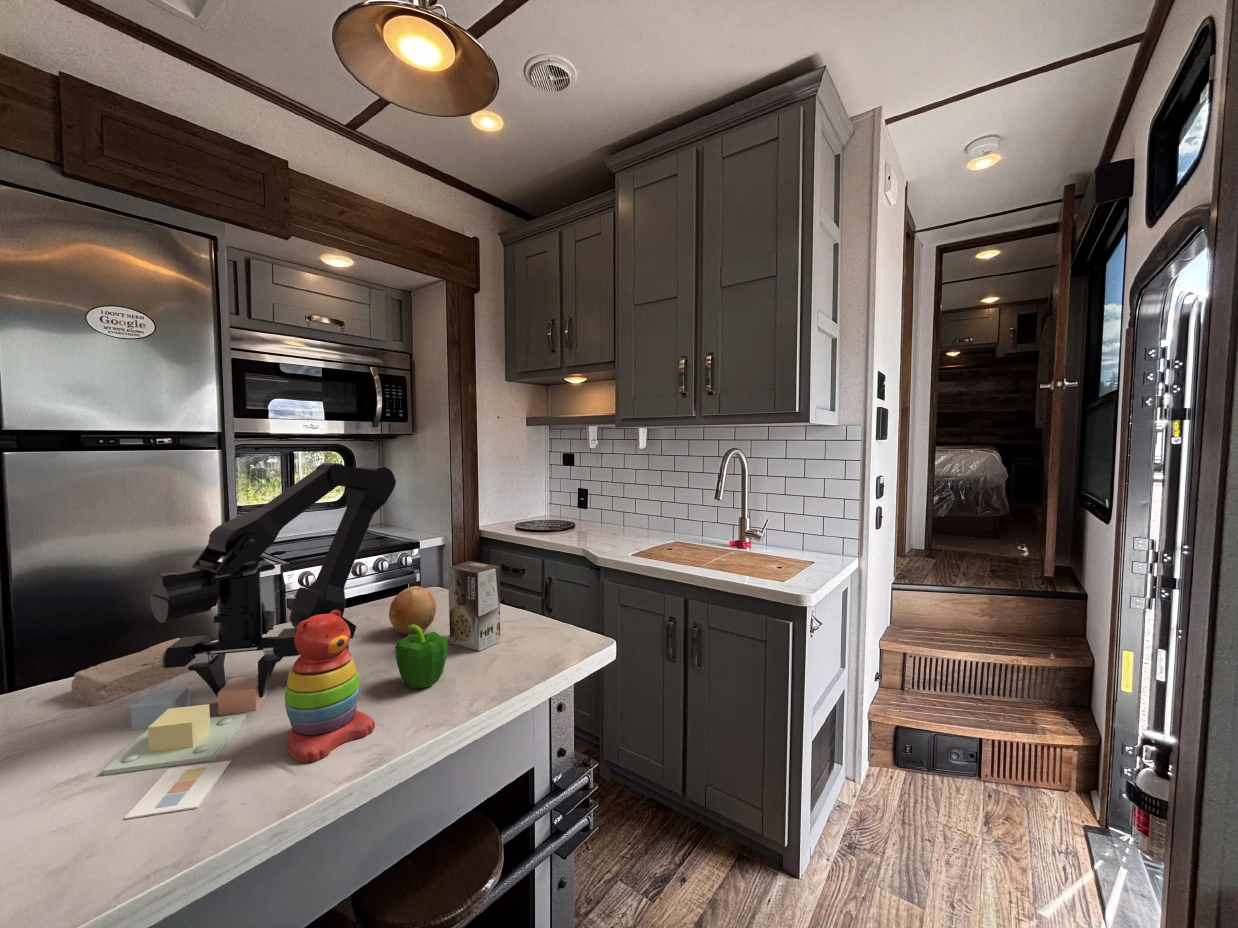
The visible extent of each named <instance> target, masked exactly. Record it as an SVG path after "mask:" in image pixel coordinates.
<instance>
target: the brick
mask: <svg viewBox="0 0 1238 928" xmlns="http://www.w3.org/2000/svg"><path fill="white" fill-rule="evenodd" d="M180 639H181V638H179V637H177V638H174V639H170V640H167V641H164V642H160V643H158V644H155V645H153V646H150V647H148V648H146V649H144V650H141V651H139V652H135V653H132V654H128V655H125V656H122V657H118V658H115V659H111V660H108V661H105V662H101V663H99V664H97V665H95V666H90V667H88V668H86V669H82V670H79V671H77V672H75V673H74V675H73V676H74V678H73V680H72V681H71V694H72V698H74V699H75V700H78V701H83V702H85V703H88V704H89V705H92V706H102V705H105V704H108V703H111V702H114V701H117V700H119V699H122V698H124V697H127V696H128V695H130V694H134V693H136V692H140V691H142V690H145V689H147V688H150V687H153V686H155V685H158V684H160V683H163V682H166V681H167V680H170V679H174V678H176V677H179V676H181V675H183V674H186V673H189V672H190V671H189V670H188V667H189V666H190V665H191V662H190V663H189V664H188V665H186V666H183V667H173V668H164V667H163V659H162V656H163V654H164V651H165V650H166V649H167V648H168V647H170V646H171V645H173V644H174V643H175V642H177V641H178V640H180Z"/></svg>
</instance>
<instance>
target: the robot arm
mask: <svg viewBox="0 0 1238 928" xmlns="http://www.w3.org/2000/svg"><path fill="white" fill-rule="evenodd" d="M396 484H397V479H396V477H395V475H394V473H393V471H392V470H391V469H389V468H388V467H384V466H373V465H360V466H358V467H356V466H355V467H354V466H348V465H343V464H342V463H334V462H323V463H321V464H319V465H317V467H316V468H315V469H314V470H313V471H311V472H310V473H308V474H307V475H305V476H304V477H303V478H302V479H300V480H298V481H297V482H296V483H294V484H293V485H291V486H290V487H289V488H287V489H286V490H284V491H283V492H281V493H280V494H278V495H277V496H276V497H274V498H273V499H271V500H270V501H268V502H267V503H265V504H264V505H263V506H261V507H260V508H257V509H255V510H253V511H250V512H247V513H244V514H242V515H238V516H236V517H234V518H232V519H230V520H228V521H226V522H224V523H222V524H219V525H218V526H216V527H215V528H214V529H213V530H212V531H211V532H210V534H209V536H208V537H209V539H208V542H207V545H206V546H205V547H204V549H203V550H202V552H201V553H200V554H199V556H198V557H197V558H196V559H195V561H194V563H193V564H192V565H191V568H190V569H187V570H182V571H176V572H162V573H158V574H156V583H155V584H154V585H153V587H152V593H151V594H150V596H149V597H150V600H149V601H150V607H151V611H152V614H153V616H154V617H155V619H156V621H157V622H159V623H167V622H170V621H175V620H179V619H183V618H187V617H191V616H194V615H199V614H202V613H206V612H209V611H211V610H212V608H213V607H216V613H217V614H215V615H214V616H213V624H215V623H217V637H218V638H217V640H216V641H211V638H210V637H209V635H207V634H206V635H194V636H184V637H183V636H182V637H181V638H180V640H178V641H177V642H175V643H174V644H173V645H171V646H170V647H168V648H167V649H166V650H165V651H164V654H163V656H162V659H163V667H164V668H173V667H183V666H186V665H188V664H189V663H190V662H191V665H190V666H189V667H188V670H189V672H195V673H196V674H197V675H198V676H199V677H200V678H201V679H202V680H203V681H204V682H205V683H206V684H207V686H208V687H209V688H210V690H211V691H212V692H213V694H214V696H216V698H217V699H218V692H219V691H220V690H221V689H222V688H223V687H224V685H225V684H226V683H227V679H226V672H225V662H226V661H225V659H226V656H227V655H226V654H233V653H235V654H236V653H244V652H256V651H262V653H263V656H262V657H261V658H260V659H258V661H257V676H258V691H259V696H260V698H261V697H263V696H264V695H265V693H266V694H267V689H268V686H269V684H270V681H271V677H272V675H273V671H274V669H275V668H276V664H277V663H279V662H281V661H282V659H283V658H289V657H297V656H298V657H299V656H300V654H299V653H298V651H297V649H296V647H295V642H294V638H295V633H296V631H297V625H298V624H299V623H300V622H302V621H305V620H306V619H308V618H310V617H312V616H315V615H320V614H329V613H330V612H331V611H333V610H339V611H340V612H341V618H342V619H343V620H344V621H345V622H346V623H347V625H348V627H349V629H350V633H351V636H350V639H353V638H354V637H355V634H356V630H357V626H356V624H354V623H353V622H351V621H350V620H348V619H347V618H345V617H344V613H345V609H346V606H347V605H346V603H347V602H346V592H345V587H346V585H347V584H346V583H347V582H348V579H349V575H350V574H351V571H352V569H353V566H354V563H355V562H356V559H357V557H358V554H359V551H360V549H361V547H362V544H363V541H364V539H365V537H366V534H367V532H368V528H369V527H370V524H371V522H372V519H373V517H374V515H375V514H376V513H377V511H378V510H380V509H381V508H382V507H383V506H384V505H385V504H386V503H387V502H388V501H389V498H390V497H391V495H392V494H393V492H394V490H395V488H396ZM337 487H344V488H345V498H346V508H345V510H344V513H343V515H342V518H341V520H340V522H339V525H338V527H337V530H336V532H335V534H334V537H333V539H332V541H331V543H330V546H329V549H328V551H327V553H326V556H325V557H324V561H323V563H322V565H321V567H320V570H319V572H318V574H317V576H316V579H315V580H314V582H312V583H311V584H310V585H309V586H308V587H307V588H306V587H302V586H300V587H299V588H298V589H297V591H296V594H295V597H294V600H293V602H292V604H291V605H290V606H289V607H288V610H289V611H290V613H289V614H290V615H289V621H290V623H291V625H292V627H291V628H283V630H281V632H280V633H278V635H277V636H266V637H263V635H267V634H268V633H269V631H273V630H274V624H275V614H276V613H275V610H266V609H265V608H266V607H265V604H264V603H265V602H264V601H262V590H261V589H262V587H261V585H262V584H261V573H263V572H269V571H272V570H275V569H276V565H275V564H272V563H271V562H269V561H267V559H265V557H264V556H262V555H263V554H264V553H265V552H266V551H267V550H268V549H269V548H270V547H271V545H273V544H274V542H275V541H276V539H277V538H278V535H279V533H280V532H281V531H282V530H283V528H284V527H285V526H287V525H289V523H290V522H292V521H294V519H296V518H298V517H299V516H300V515H301V514H303V513H304V512H305V511H306V510H308V509H310V507H312V506H313V505H314V504H316V503H317V502H319V501H320V500H321V499H322V498H324V497H325V496H326V495H328V494H329V493H330V492H332V491H333V490H334V489H335V488H337ZM221 559H223V560H222V561H219V560H221ZM349 647H350V645H349V644H348V645H347V647H346V648H345V649H347V650H348V651H349V650H350V649H349ZM349 652H350V651H349Z"/></svg>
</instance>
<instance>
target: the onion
mask: <svg viewBox="0 0 1238 928" xmlns="http://www.w3.org/2000/svg"><path fill="white" fill-rule="evenodd" d="M436 613H437V603H436V599H435V597H434V595H433V594H432V593H431V592H430V591H429V590H428V589H426V588H424V587H422V586H419V585H415V586H413V585H412V586H409V587H407V588H405V589H404V590H402V591H400V592H399V593H398V594H396V596H395V597H394V598H393V600H392V601H391V603H390V606H389V611H388V618H389V621H390V623H391V625H392V627H393V628H394V629H396V630H397V631H398V632H399V633H401V634H404V635H409V634H417V632H416V631H415V630H411V631H410V630H409V629H408V626H410V625H413V624H414V625H417V626H419V627H420V628H421V629H422V631H423V632H424V631H425V630H427V629H428V627H429V626H430V625H431V624H432V623H433V622H434V619H435V616H436Z"/></svg>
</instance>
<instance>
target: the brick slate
mask: <svg viewBox="0 0 1238 928" xmlns="http://www.w3.org/2000/svg"><path fill="white" fill-rule="evenodd" d="M189 689H190V687H189V686H188V687H181V688H180V687H179V688H172V689H171V688H169V689H161V690H160V689H159V690H151V691H149V692H148V693H147V694H146V695H144V696H143V697H142V698H141V699H139V700H138V701H137V702H136V703H134V704H133V705H132V706H130V712H131V713H130V716H131V717H130V718H131V730H138V729H145V728H147V729H148V727H149V726H150V725H151V724H152V723H153V722H155V721H156V720H157V719H158V718H159V717H160V716H161V715H162V714H163V713H164V712H165V711H167V710H168V709H171V708H180V707H189V706H190V693H189V692H190V691H189Z"/></svg>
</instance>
